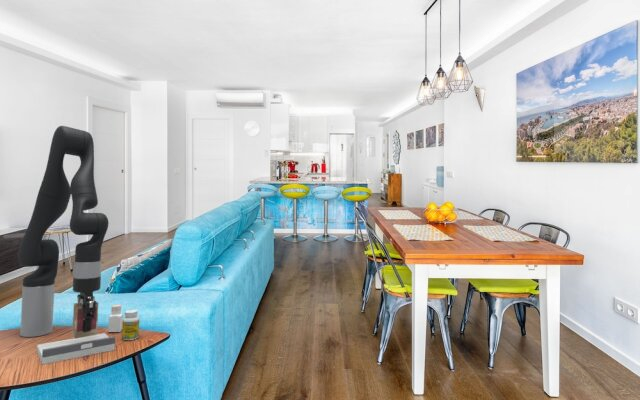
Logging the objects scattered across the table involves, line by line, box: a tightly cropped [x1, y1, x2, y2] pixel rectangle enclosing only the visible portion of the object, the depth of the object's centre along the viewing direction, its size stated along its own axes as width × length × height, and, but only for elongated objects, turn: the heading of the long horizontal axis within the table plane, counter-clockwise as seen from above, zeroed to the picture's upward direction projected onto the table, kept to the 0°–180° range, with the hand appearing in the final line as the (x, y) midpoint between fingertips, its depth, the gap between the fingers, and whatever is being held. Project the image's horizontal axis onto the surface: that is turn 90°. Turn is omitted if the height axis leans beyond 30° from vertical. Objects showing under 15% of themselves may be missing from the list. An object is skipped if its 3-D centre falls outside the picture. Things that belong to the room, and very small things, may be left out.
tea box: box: [72, 301, 99, 339], centre depth 121 cm, size 4×6×10 cm
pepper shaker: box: [107, 304, 124, 333], centre depth 140 cm, size 4×4×10 cm
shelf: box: [36, 332, 116, 365], centre depth 121 cm, size 13×19×4 cm
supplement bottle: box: [121, 309, 140, 341], centre depth 134 cm, size 5×5×10 cm
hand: (85, 329), depth 121 cm, fingers closed on tea box, 4 cm apart
